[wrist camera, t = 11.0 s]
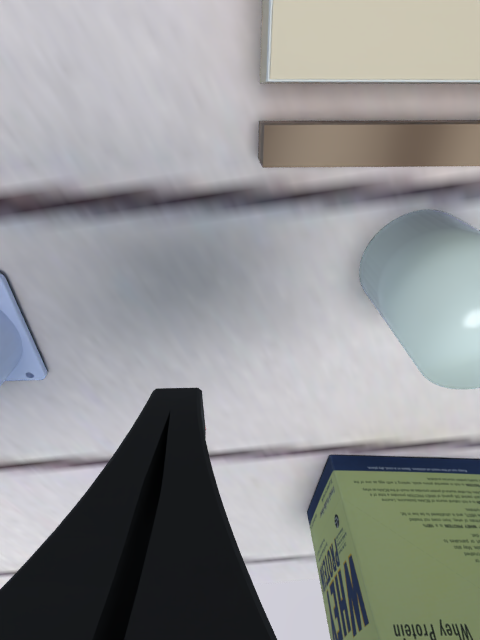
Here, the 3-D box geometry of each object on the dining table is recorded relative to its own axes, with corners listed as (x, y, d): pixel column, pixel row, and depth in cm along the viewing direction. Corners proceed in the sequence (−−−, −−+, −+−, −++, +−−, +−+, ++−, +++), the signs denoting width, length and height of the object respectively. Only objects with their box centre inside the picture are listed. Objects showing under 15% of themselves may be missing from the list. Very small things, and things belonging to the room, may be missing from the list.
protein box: (325, 453, 29) (402, 737, 16) (492, 457, 30) (689, 726, 17) (303, 512, 35) (347, 755, 22) (444, 514, 36) (564, 747, 23)
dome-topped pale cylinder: (350, 307, 21) (397, 390, 15) (371, 210, 17) (444, 267, 11) (445, 306, 21) (529, 387, 15) (484, 209, 17) (613, 265, 12)
